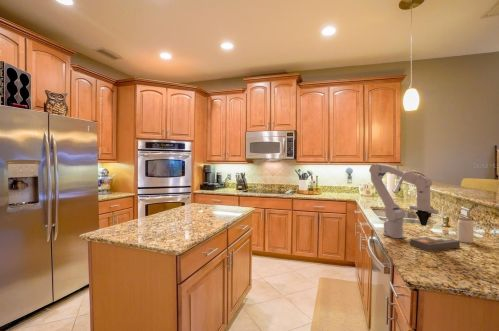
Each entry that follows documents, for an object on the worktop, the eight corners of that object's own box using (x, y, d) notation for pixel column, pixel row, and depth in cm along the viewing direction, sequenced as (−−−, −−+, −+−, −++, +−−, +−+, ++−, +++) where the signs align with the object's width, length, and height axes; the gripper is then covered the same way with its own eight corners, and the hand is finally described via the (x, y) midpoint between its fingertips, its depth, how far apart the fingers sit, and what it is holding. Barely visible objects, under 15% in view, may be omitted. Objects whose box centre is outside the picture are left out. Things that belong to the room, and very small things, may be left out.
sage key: (436, 241, 128) (436, 237, 128) (442, 240, 129) (442, 237, 129) (445, 243, 124) (445, 240, 124) (451, 243, 125) (451, 239, 125)
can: (476, 243, 128) (476, 220, 128) (462, 243, 129) (462, 220, 129) (468, 240, 134) (468, 218, 134) (454, 239, 135) (454, 217, 135)
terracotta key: (417, 243, 125) (417, 240, 125) (423, 242, 126) (423, 239, 126) (425, 246, 120) (425, 242, 120) (432, 245, 122) (432, 241, 122)
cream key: (426, 240, 126) (426, 237, 126) (433, 239, 127) (433, 236, 127) (435, 243, 122) (435, 239, 122) (442, 242, 123) (442, 238, 123)
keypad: (410, 244, 127) (410, 238, 127) (439, 241, 132) (439, 235, 132) (428, 251, 117) (428, 244, 117) (459, 247, 123) (459, 241, 123)
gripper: (443, 201, 123) (443, 228, 123) (416, 197, 137) (416, 221, 137) (432, 201, 122) (432, 229, 122) (406, 198, 136) (406, 222, 136)
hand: (423, 225), depth 129 cm, fingers closed
